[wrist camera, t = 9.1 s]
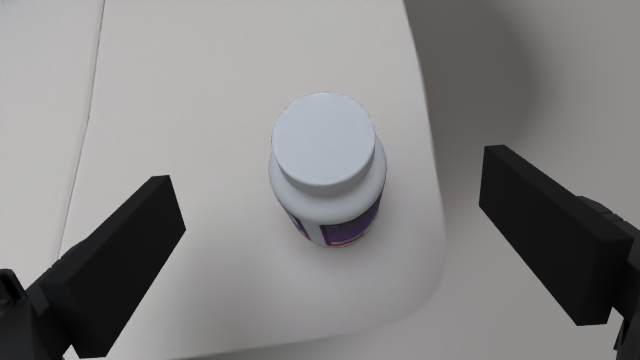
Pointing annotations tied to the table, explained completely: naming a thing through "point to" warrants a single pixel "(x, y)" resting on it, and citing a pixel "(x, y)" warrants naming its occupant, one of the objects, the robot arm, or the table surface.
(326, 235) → the pill bottle
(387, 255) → the table surface
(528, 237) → the robot arm
